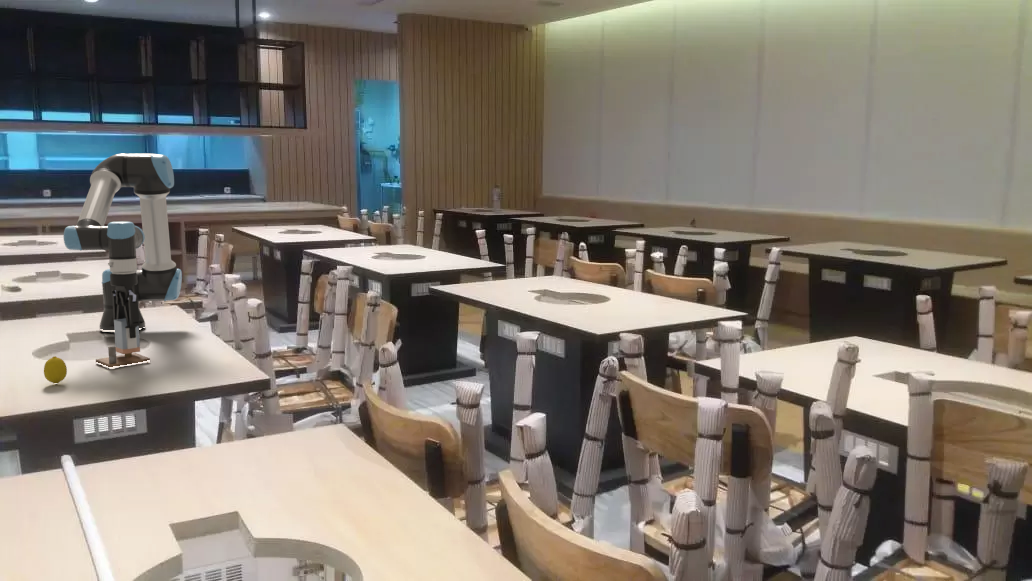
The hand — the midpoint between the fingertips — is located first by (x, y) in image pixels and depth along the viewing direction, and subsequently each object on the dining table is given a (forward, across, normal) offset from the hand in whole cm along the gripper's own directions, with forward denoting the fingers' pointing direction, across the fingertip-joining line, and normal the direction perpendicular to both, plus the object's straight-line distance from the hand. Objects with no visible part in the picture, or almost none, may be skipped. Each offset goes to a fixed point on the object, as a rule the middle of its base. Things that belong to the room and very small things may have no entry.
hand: (127, 346), depth 251 cm
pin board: (+5, +2, -2) cm, 6 cm away
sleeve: (+2, 0, 0) cm, 2 cm away
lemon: (+5, +13, -26) cm, 29 cm away
